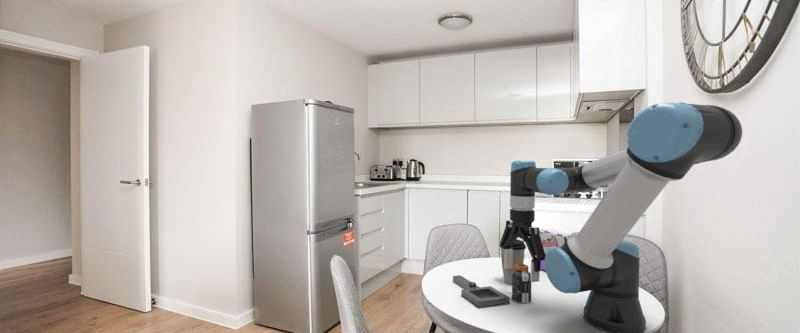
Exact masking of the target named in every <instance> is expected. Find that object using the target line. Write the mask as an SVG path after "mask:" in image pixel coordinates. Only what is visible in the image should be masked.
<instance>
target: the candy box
mask: <svg viewBox="0 0 800 333" xmlns="http://www.w3.org/2000/svg"><path fill="white" fill-rule="evenodd" d="M539 232H540V238H541V241H542V245H543V248H544V252H545V256H546V253H547V252H548V251H549V250H550V249H552V248H554V247H558V248H559V247H561V246H562V245H563V244H564V242H565V241H566V239H567V238H568V236H569V235H570V234H571V233H567V232H564V231H558V230H555V229H550V228H542V229H539ZM540 271H543V272H545V273H546V269H545V260H542V261H541V268H540Z"/></svg>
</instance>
